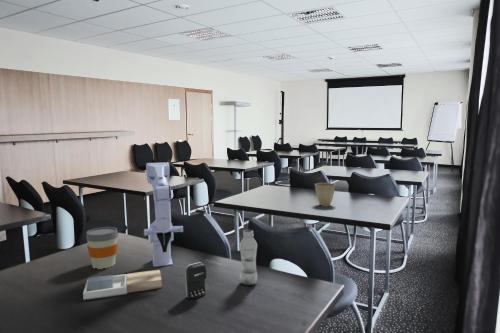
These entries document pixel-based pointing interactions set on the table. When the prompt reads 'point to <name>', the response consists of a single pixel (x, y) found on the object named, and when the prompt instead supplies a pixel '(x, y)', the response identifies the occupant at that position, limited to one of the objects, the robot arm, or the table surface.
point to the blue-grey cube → (106, 282)
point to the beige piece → (144, 281)
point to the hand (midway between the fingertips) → (164, 251)
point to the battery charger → (195, 280)
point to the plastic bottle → (248, 258)
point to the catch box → (117, 289)
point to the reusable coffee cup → (102, 246)
